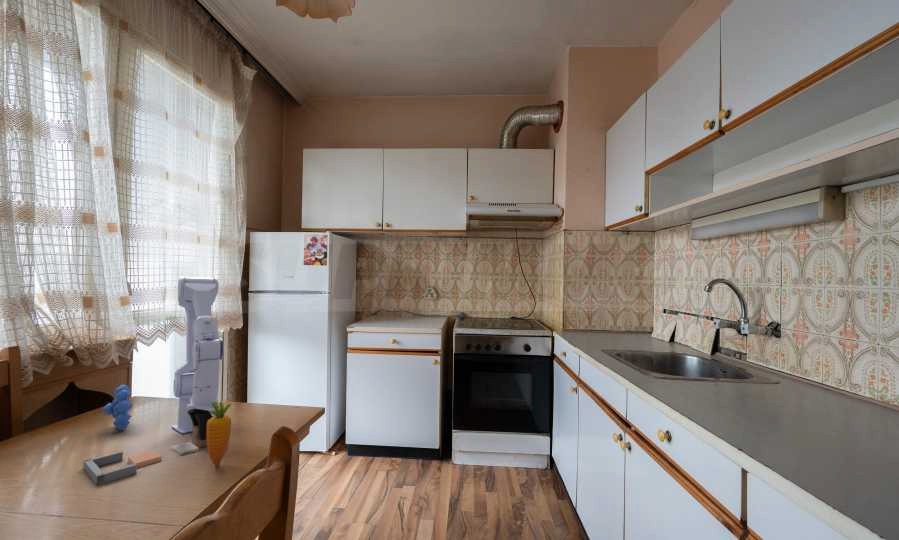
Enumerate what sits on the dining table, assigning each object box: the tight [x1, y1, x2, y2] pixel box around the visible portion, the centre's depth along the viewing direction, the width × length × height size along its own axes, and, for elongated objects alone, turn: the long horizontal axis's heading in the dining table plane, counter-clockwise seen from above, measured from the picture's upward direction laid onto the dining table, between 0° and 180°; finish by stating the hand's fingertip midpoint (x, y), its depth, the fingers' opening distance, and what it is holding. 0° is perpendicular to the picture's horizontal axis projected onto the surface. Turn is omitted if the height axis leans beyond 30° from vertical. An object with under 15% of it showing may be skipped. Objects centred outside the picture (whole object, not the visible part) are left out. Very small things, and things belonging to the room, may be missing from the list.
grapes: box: [101, 384, 134, 431], centre depth 109 cm, size 12×7×12 cm, turn 46°
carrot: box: [206, 401, 232, 467], centre depth 90 cm, size 5×5×15 cm
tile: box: [127, 449, 162, 468], centre depth 91 cm, size 5×5×2 cm
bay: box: [82, 450, 137, 486], centre depth 86 cm, size 7×11×2 cm, turn 54°
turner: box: [170, 425, 207, 457], centre depth 100 cm, size 9×6×5 cm, turn 144°
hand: (202, 437), depth 101 cm, fingers closed on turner, 2 cm apart
